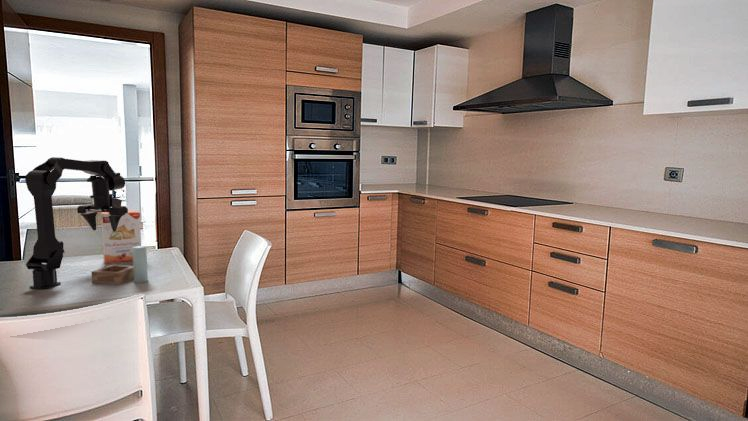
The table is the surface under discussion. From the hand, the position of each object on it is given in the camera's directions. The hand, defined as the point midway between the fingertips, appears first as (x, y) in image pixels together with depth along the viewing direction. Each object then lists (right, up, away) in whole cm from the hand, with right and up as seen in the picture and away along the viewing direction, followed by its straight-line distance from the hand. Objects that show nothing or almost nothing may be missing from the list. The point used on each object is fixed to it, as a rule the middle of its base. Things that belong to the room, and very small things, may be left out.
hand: (104, 230), depth 185 cm
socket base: (+13, -17, -15) cm, 26 cm away
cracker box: (+1, -13, +12) cm, 18 cm away
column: (+23, -18, -16) cm, 33 cm away
